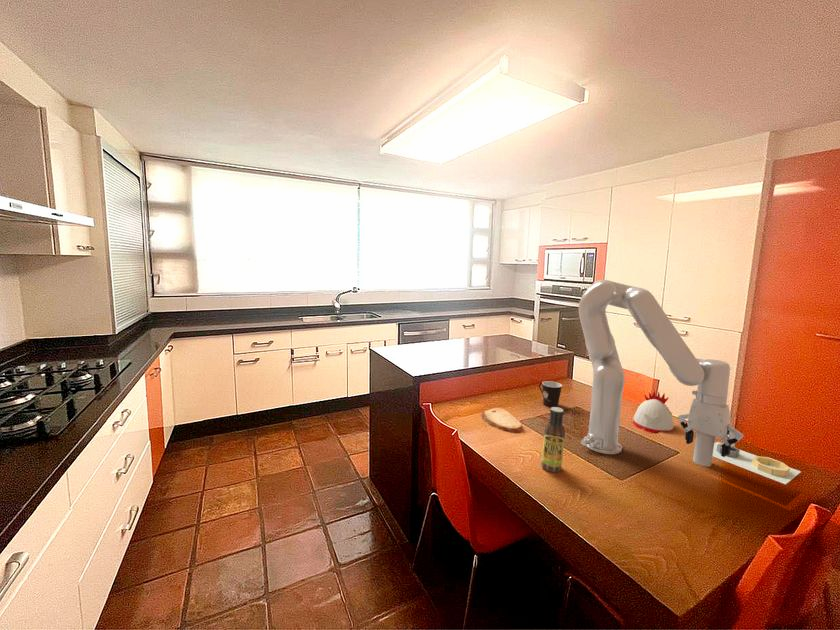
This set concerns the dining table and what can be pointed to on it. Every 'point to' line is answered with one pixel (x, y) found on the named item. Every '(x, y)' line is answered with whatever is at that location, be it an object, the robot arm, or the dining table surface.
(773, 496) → the dining table surface
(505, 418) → the bread slice
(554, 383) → the coffee mug
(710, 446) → the beverage can
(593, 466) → the dining table surface
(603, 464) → the dining table surface
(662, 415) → the white and red dome
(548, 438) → the sauce bottle
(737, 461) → the socket board
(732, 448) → the grey peg
